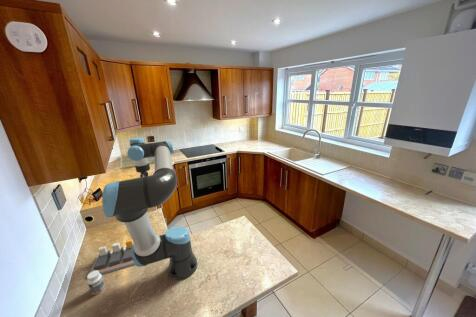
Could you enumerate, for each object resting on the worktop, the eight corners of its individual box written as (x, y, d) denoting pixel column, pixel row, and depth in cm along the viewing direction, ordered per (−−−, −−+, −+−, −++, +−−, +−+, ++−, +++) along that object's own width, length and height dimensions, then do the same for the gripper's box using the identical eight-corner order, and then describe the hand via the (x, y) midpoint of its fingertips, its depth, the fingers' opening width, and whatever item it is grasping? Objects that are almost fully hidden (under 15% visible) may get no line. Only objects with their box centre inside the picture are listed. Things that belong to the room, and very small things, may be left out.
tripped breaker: (133, 247, 115) (131, 241, 114) (127, 248, 114) (125, 242, 113) (133, 244, 117) (132, 238, 116) (127, 246, 116) (126, 240, 115)
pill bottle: (90, 290, 94) (84, 274, 91) (104, 282, 98) (98, 267, 95) (92, 297, 90) (86, 281, 87) (106, 289, 94) (101, 273, 91)
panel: (138, 263, 108) (135, 251, 106) (88, 278, 101) (83, 265, 98) (141, 245, 123) (139, 234, 120) (98, 256, 115) (94, 245, 113)
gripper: (147, 166, 107) (155, 203, 114) (149, 160, 119) (156, 194, 125) (133, 168, 105) (141, 206, 111) (136, 162, 116) (144, 197, 123)
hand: (149, 200), depth 118 cm, fingers closed
